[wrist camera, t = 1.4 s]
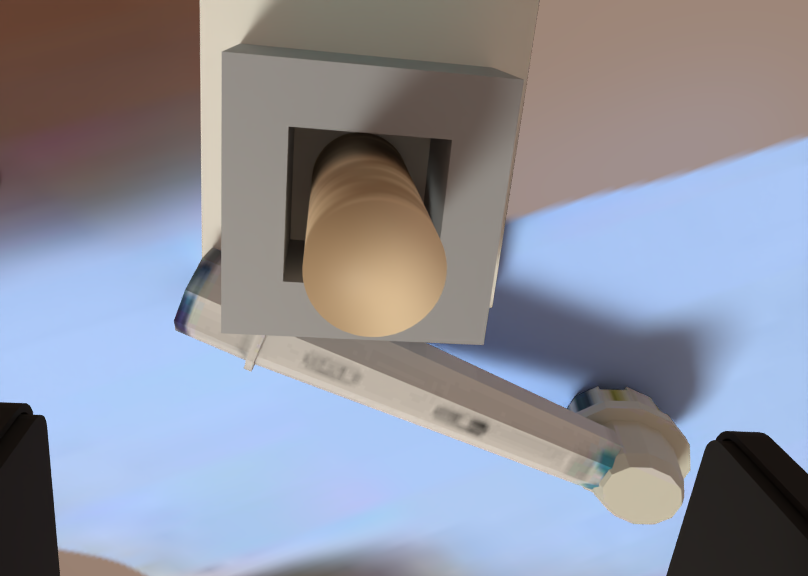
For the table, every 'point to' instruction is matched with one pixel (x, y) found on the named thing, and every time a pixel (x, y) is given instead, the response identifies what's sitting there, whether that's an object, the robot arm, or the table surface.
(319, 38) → the dock board
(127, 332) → the table surface
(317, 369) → the light grey long piece
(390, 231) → the beech pin
